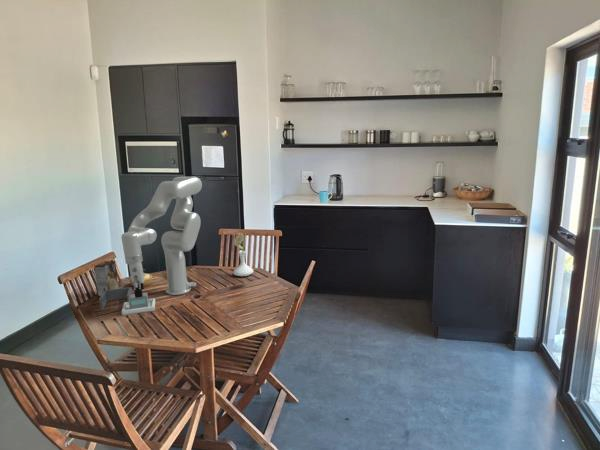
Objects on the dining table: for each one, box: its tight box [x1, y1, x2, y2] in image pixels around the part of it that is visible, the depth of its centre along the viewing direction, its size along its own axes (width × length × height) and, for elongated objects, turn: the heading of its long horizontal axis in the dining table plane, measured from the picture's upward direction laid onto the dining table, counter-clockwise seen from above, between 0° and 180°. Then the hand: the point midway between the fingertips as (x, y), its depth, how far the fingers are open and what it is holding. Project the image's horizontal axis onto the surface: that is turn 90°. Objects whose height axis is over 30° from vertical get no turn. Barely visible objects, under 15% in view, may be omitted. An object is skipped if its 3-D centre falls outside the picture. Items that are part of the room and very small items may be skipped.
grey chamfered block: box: [128, 292, 149, 309], centre depth 209 cm, size 8×5×6 cm, turn 106°
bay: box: [98, 286, 134, 310], centre depth 218 cm, size 13×14×5 cm
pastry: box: [128, 268, 154, 288], centre depth 243 cm, size 12×12×9 cm
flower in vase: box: [232, 232, 254, 277], centre depth 250 cm, size 13×11×25 cm
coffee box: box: [93, 260, 120, 297], centre depth 232 cm, size 9×6×16 cm
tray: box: [121, 297, 156, 317], centre depth 209 cm, size 14×12×2 cm
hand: (139, 293), depth 209 cm, fingers open, 9 cm apart
